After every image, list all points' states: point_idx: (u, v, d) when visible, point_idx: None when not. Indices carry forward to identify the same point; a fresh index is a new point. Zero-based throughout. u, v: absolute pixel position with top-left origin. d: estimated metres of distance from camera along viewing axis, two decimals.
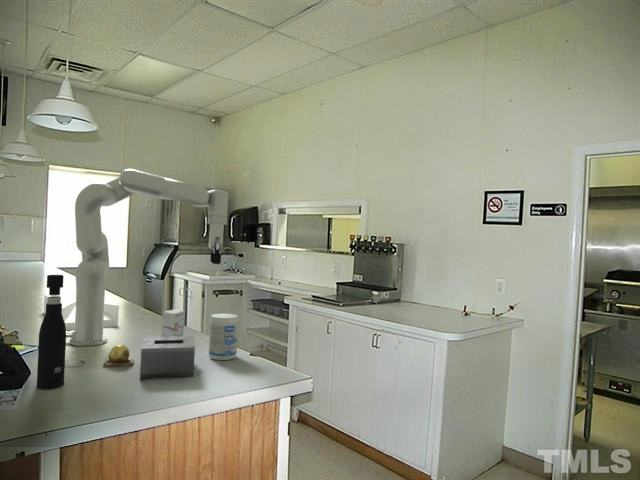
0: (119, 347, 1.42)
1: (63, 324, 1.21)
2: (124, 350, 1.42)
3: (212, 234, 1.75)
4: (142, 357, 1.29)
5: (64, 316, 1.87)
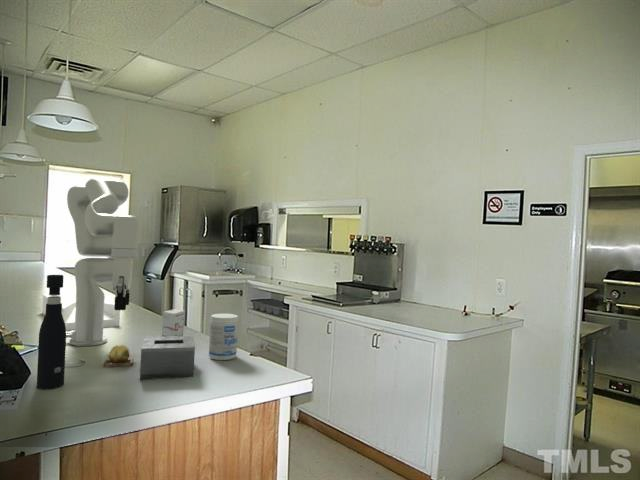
0: (119, 347, 1.42)
1: (63, 324, 1.21)
2: (124, 350, 1.42)
3: (114, 272, 1.37)
4: (142, 357, 1.29)
5: (66, 316, 1.87)
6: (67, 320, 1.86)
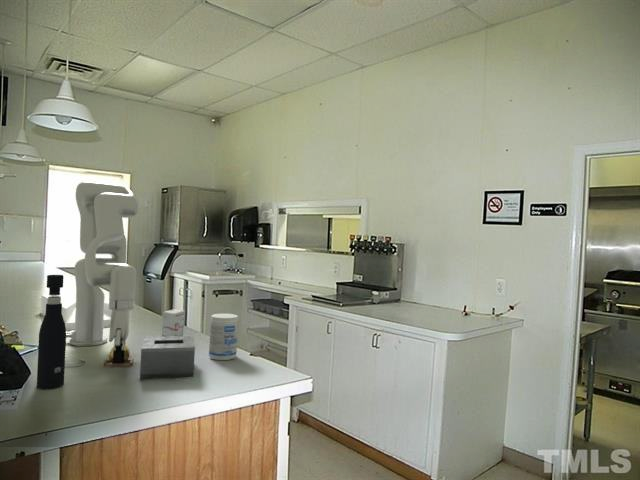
0: None
1: (63, 324, 1.21)
2: None
3: (112, 325, 1.37)
4: (142, 357, 1.29)
5: (67, 316, 1.87)
6: (69, 320, 1.86)
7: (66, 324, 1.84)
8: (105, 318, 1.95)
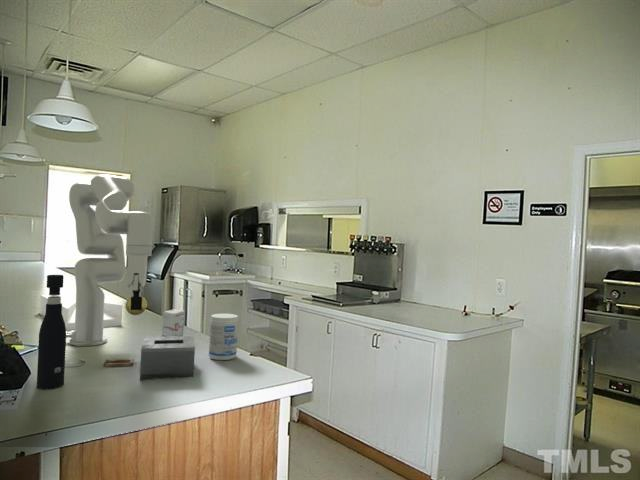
0: (142, 299, 1.40)
1: (63, 324, 1.21)
2: (143, 304, 1.41)
3: (129, 269, 1.36)
4: (142, 357, 1.29)
5: (69, 316, 1.87)
6: (70, 320, 1.86)
7: (67, 324, 1.84)
8: (106, 318, 1.95)
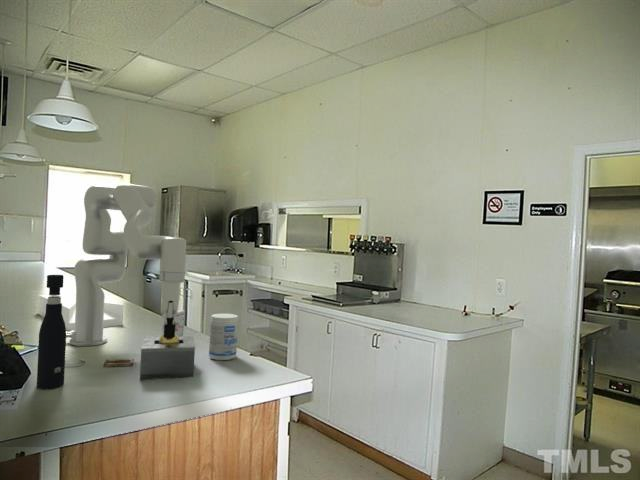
0: None
1: (63, 324, 1.21)
2: None
3: (164, 297, 1.33)
4: (142, 357, 1.29)
5: (70, 316, 1.87)
6: (72, 320, 1.87)
7: (69, 324, 1.84)
8: (107, 318, 1.96)
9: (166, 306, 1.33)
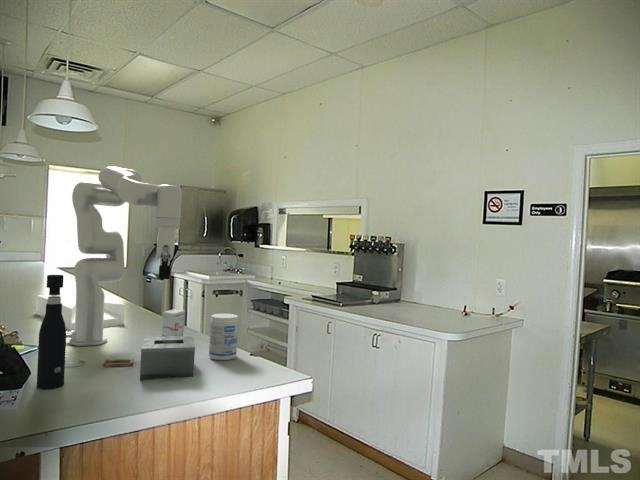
0: None
1: (63, 324, 1.21)
2: None
3: (159, 241, 1.38)
4: (142, 357, 1.29)
5: (72, 316, 1.87)
6: (74, 320, 1.87)
7: (72, 324, 1.84)
8: (109, 317, 1.97)
9: (161, 250, 1.38)
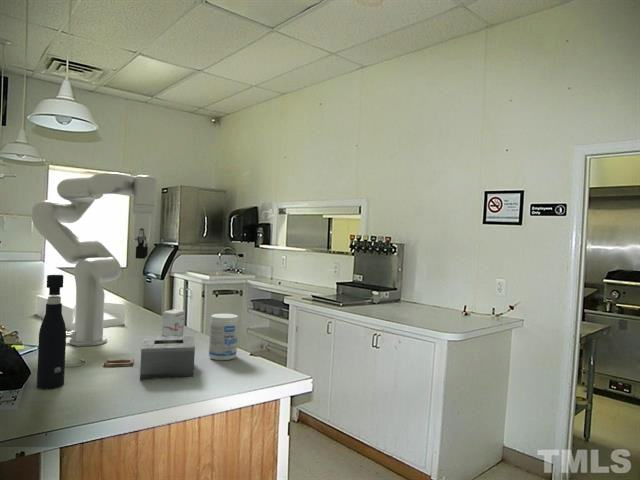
0: None
1: (63, 324, 1.21)
2: None
3: (136, 225, 1.55)
4: (142, 357, 1.29)
5: (73, 316, 1.88)
6: None
7: (73, 324, 1.84)
8: (109, 317, 1.97)
9: (138, 233, 1.55)
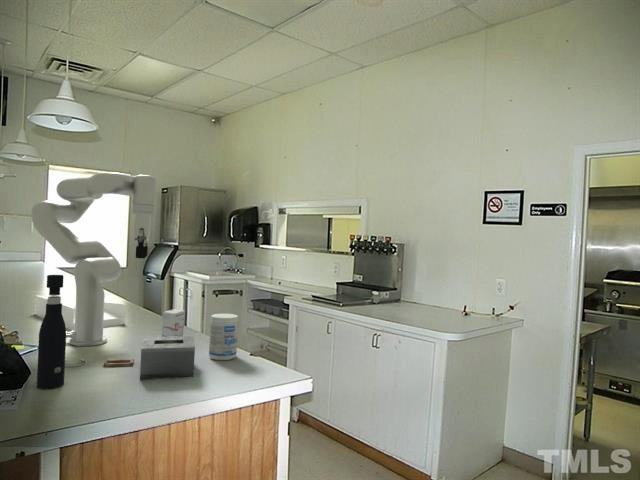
0: None
1: (63, 324, 1.21)
2: None
3: (136, 225, 1.55)
4: (142, 357, 1.29)
5: (74, 316, 1.88)
6: None
7: (74, 324, 1.84)
8: (110, 317, 1.97)
9: (138, 232, 1.55)
